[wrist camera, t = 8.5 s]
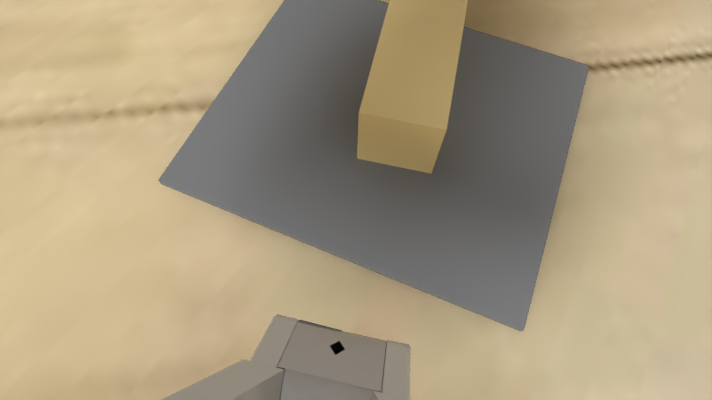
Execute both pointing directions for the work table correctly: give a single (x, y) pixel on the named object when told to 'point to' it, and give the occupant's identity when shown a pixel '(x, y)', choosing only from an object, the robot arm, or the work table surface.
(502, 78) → the mat
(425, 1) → the block
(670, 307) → the work table surface
